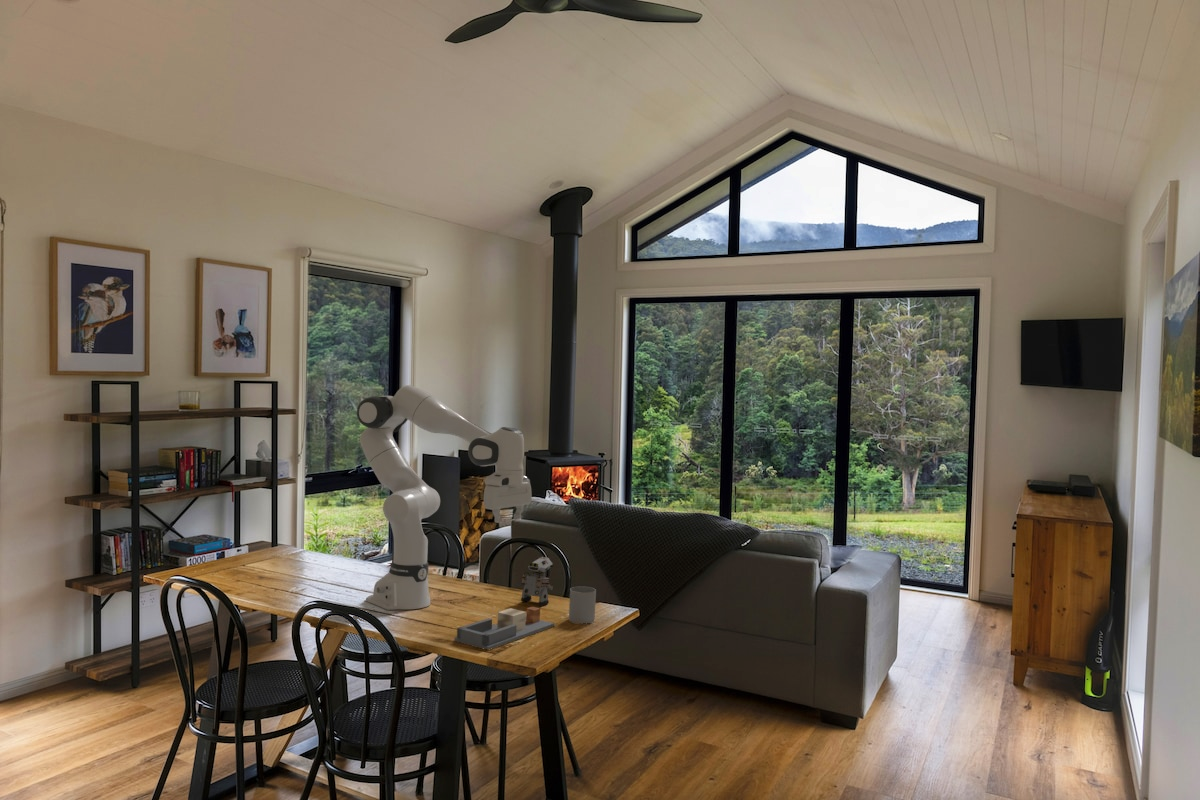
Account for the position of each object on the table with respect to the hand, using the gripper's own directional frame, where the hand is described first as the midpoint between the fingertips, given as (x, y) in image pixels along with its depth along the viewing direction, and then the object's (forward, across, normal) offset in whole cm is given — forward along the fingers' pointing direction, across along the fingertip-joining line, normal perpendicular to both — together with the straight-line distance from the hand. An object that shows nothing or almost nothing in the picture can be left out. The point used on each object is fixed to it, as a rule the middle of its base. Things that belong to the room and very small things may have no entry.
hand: (507, 520), depth 263 cm
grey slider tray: (+31, +13, +12) cm, 36 cm away
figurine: (+31, -22, -3) cm, 38 cm away
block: (+30, +6, +12) cm, 33 cm away
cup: (+31, -14, +21) cm, 40 cm away
